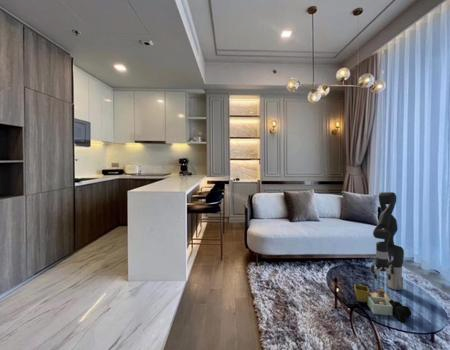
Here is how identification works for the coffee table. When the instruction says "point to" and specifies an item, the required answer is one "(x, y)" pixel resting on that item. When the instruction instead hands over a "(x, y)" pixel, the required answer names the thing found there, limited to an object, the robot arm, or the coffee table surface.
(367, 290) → the flower pot
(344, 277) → the coffee table surface
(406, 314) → the film camera
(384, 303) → the pale green open box
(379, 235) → the robot arm
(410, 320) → the coffee table surface
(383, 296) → the lid
